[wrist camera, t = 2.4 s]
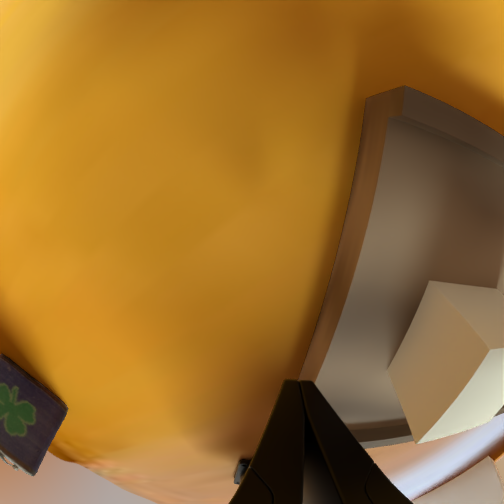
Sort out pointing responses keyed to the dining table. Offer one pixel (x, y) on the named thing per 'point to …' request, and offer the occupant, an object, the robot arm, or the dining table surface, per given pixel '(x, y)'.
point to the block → (451, 361)
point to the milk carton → (469, 487)
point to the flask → (26, 417)
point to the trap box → (404, 249)
